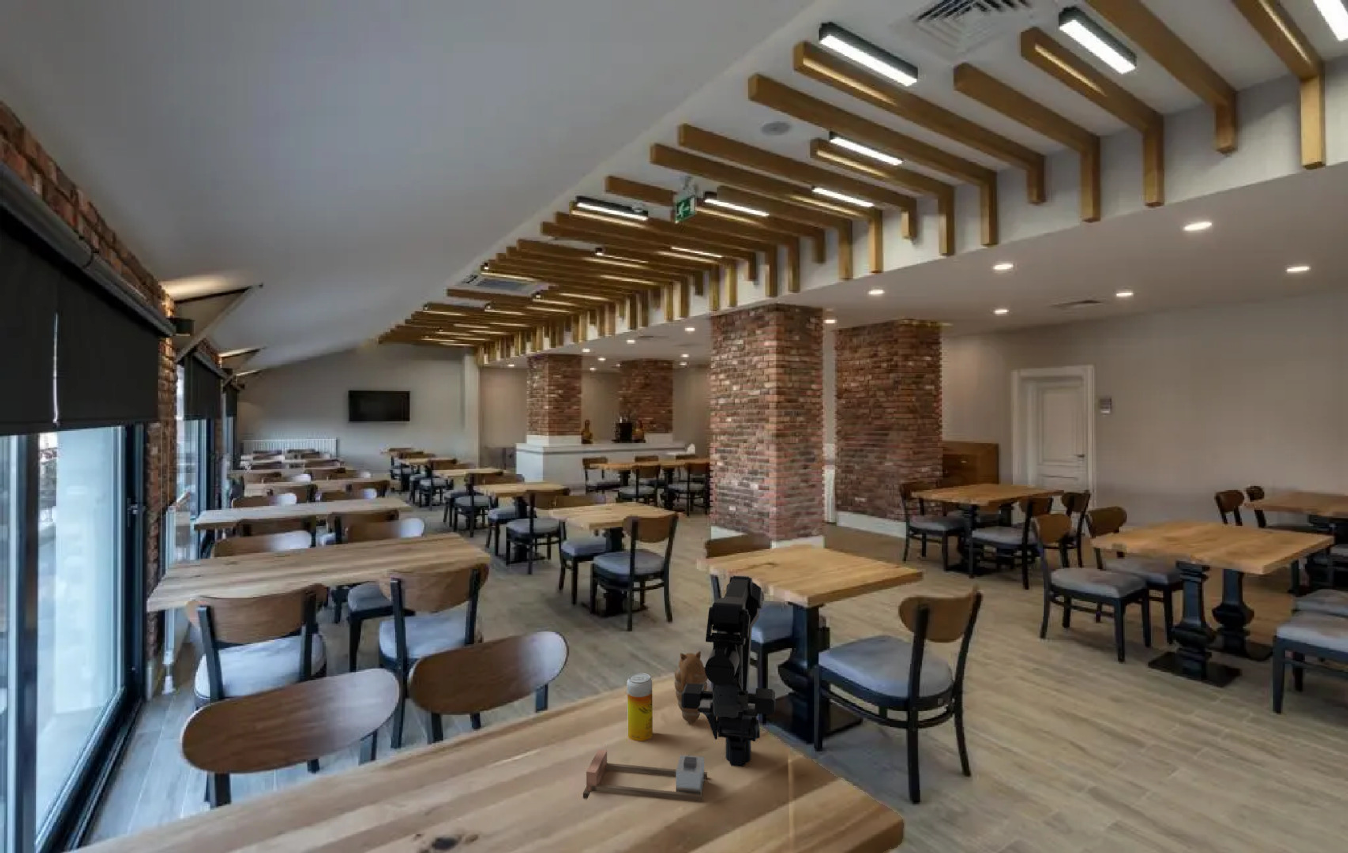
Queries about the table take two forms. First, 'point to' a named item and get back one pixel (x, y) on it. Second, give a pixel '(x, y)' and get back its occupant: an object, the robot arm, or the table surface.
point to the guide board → (597, 773)
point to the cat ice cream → (689, 680)
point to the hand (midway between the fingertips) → (728, 739)
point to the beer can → (639, 707)
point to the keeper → (690, 774)
